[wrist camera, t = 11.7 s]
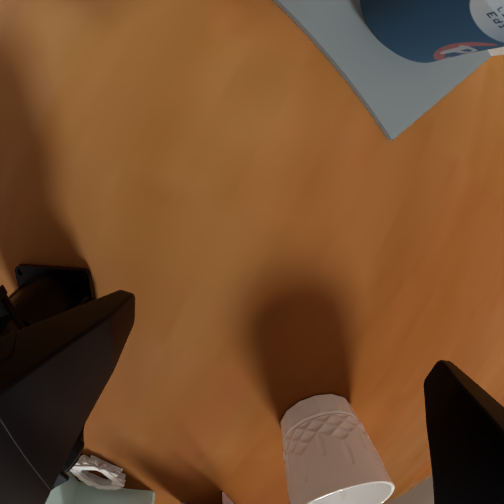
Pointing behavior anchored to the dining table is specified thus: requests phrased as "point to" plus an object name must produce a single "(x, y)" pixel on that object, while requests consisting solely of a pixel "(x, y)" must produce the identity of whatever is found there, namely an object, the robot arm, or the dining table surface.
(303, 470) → the white cup
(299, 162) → the dining table surface
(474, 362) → the dining table surface
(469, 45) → the soda can
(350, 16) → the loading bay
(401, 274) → the dining table surface
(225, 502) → the pink printed box
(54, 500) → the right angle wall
